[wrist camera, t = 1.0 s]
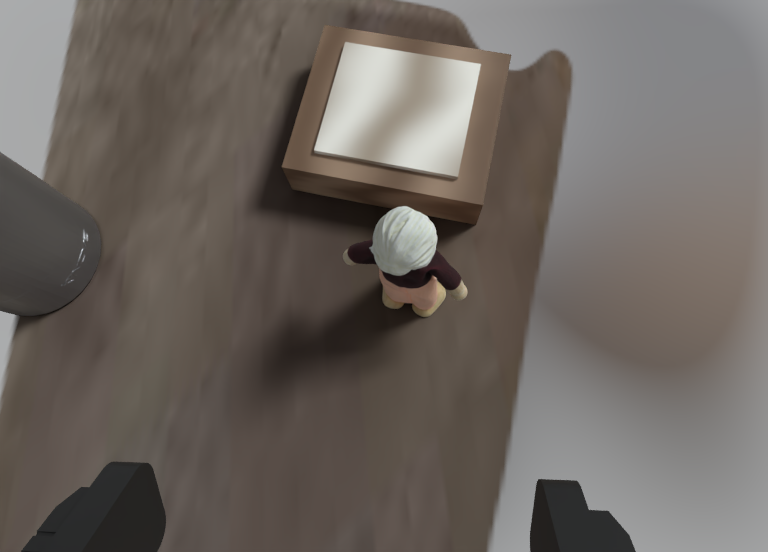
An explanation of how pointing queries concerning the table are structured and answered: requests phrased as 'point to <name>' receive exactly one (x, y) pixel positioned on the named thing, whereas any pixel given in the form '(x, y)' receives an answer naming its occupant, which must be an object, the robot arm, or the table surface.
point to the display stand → (398, 123)
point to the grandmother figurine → (408, 262)
